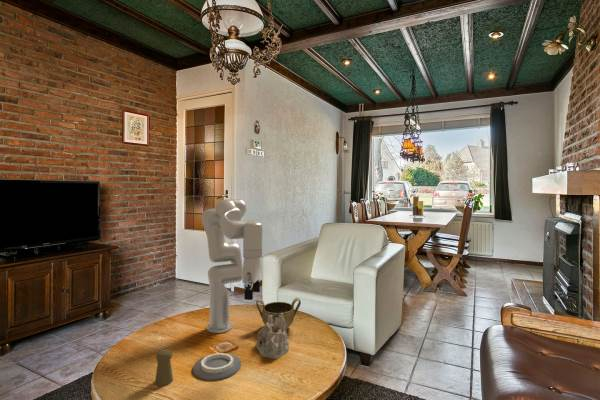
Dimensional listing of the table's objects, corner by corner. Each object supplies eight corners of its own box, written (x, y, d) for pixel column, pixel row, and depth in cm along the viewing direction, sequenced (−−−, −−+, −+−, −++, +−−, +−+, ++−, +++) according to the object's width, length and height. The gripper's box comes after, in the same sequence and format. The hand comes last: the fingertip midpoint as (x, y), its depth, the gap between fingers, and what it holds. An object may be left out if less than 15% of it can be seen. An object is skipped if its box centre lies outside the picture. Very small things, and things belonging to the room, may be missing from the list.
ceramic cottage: (265, 336, 155) (265, 306, 153) (295, 346, 147) (296, 314, 146) (244, 353, 141) (245, 319, 140) (277, 364, 134) (278, 329, 132)
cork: (158, 376, 121) (158, 347, 121) (175, 376, 121) (175, 346, 121) (152, 386, 115) (152, 355, 115) (170, 385, 115) (170, 355, 115)
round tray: (192, 359, 134) (192, 353, 134) (237, 352, 139) (237, 347, 139) (193, 384, 117) (193, 377, 117) (244, 375, 122) (244, 368, 122)
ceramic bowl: (299, 321, 174) (299, 293, 174) (301, 335, 157) (302, 304, 157) (256, 322, 172) (257, 293, 172) (254, 336, 156) (255, 305, 155)
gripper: (250, 249, 140) (249, 288, 141) (236, 257, 123) (235, 302, 124) (267, 249, 139) (266, 289, 140) (255, 257, 122) (255, 303, 123)
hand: (252, 295), depth 132 cm, fingers open, 9 cm apart
